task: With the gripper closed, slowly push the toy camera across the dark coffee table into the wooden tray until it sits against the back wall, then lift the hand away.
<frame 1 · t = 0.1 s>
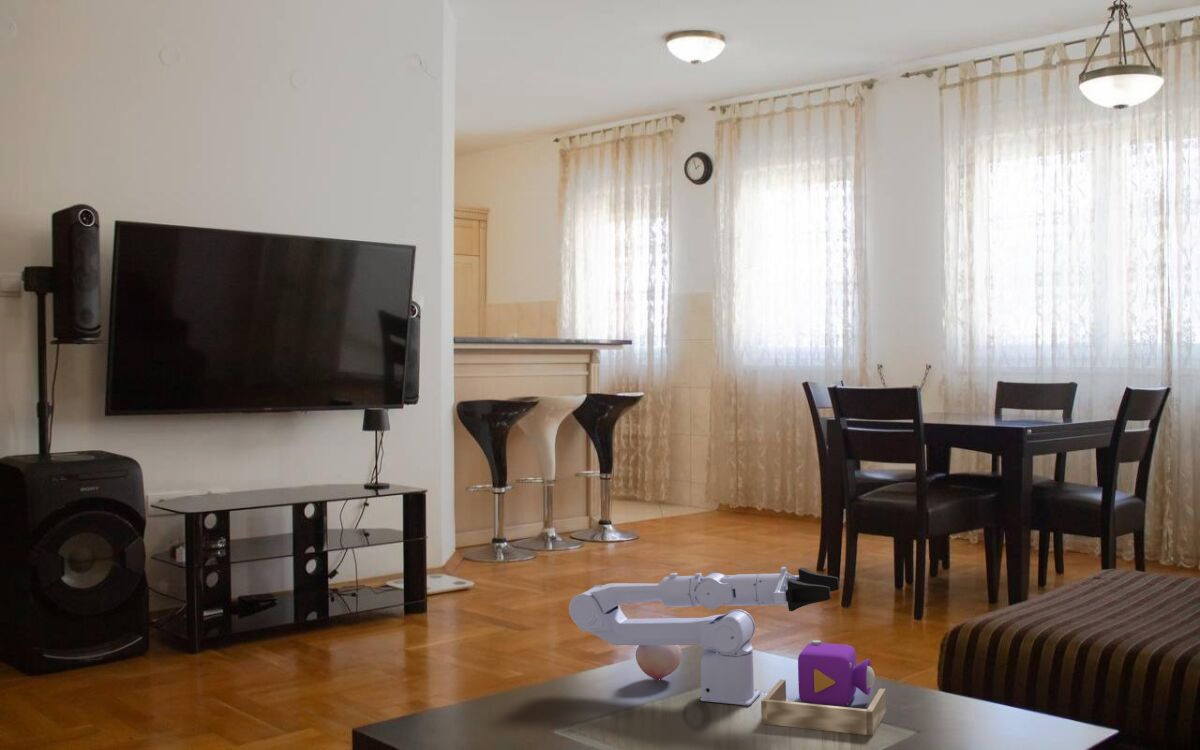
hand: (834, 588, 199), 22 cm above the table, tool horizontal, fingers open, 7 cm apart
decorative fruit: (660, 681, 220), on the table
toy camera: (837, 700, 205), on the table
wooden tray: (824, 717, 195), on the table
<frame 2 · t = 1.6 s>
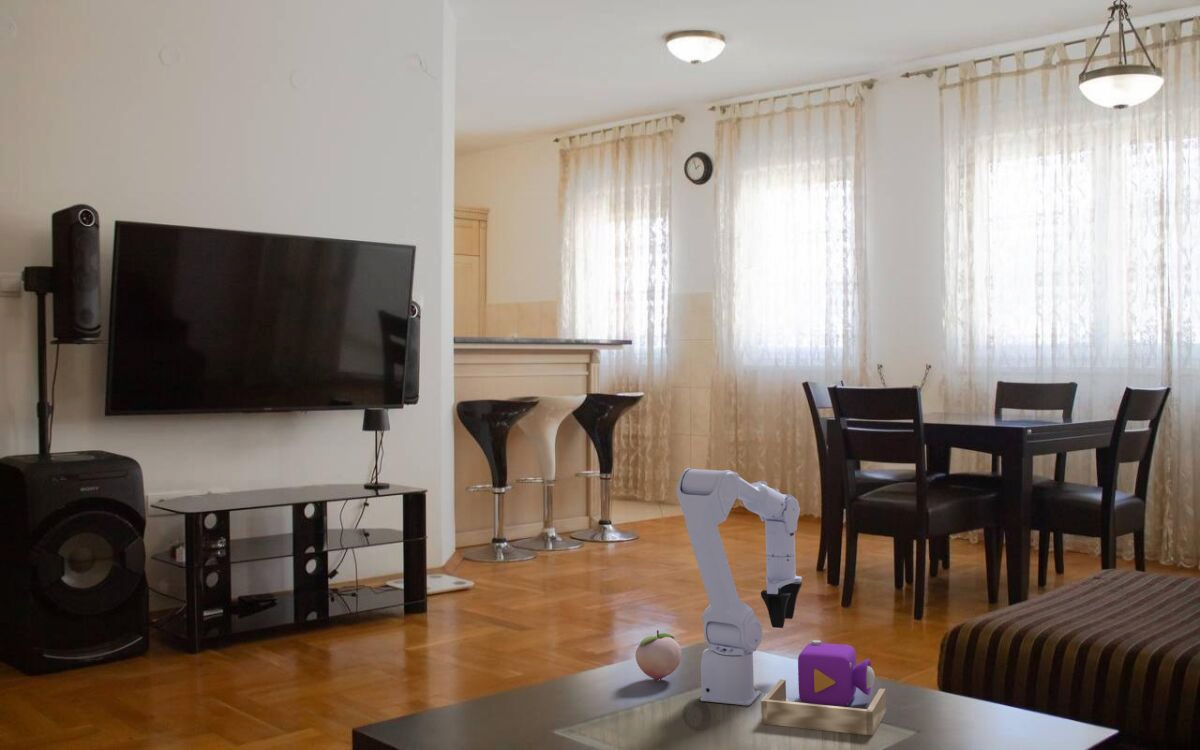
hand: (782, 622, 221), 10 cm above the table, tool pointing down, fingers open, 7 cm apart
nothing on the table moved.
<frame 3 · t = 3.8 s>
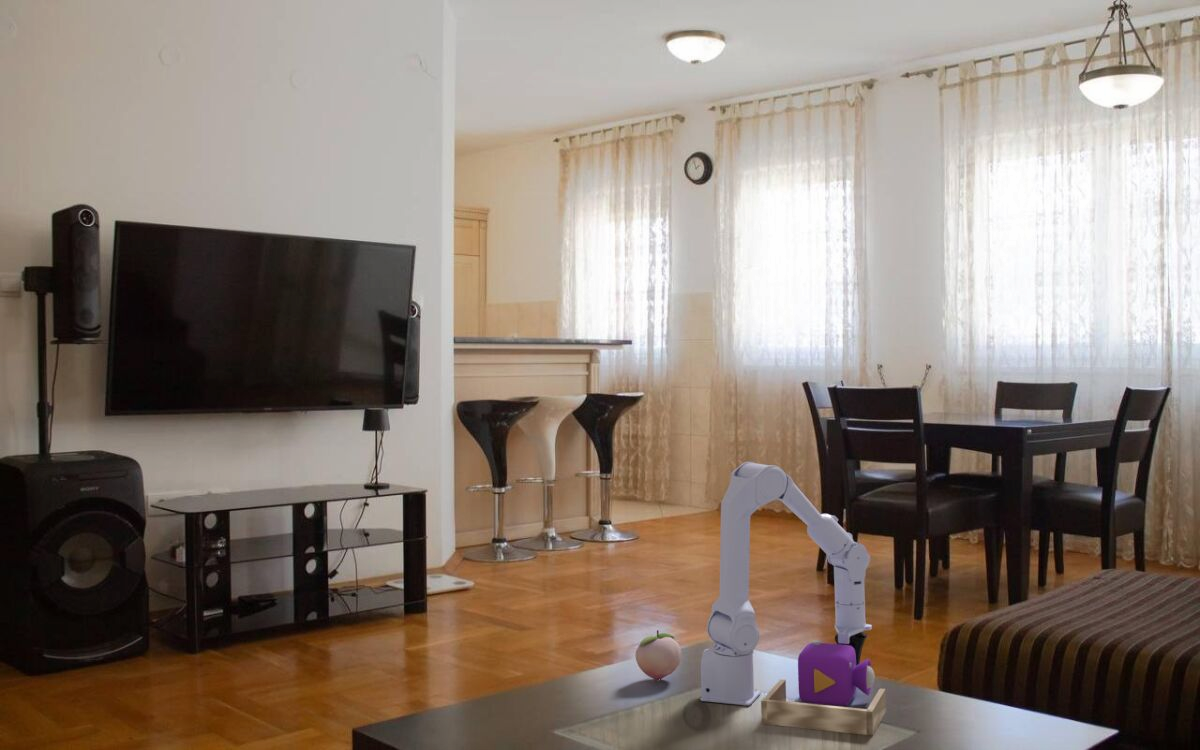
hand: (852, 671, 217), 1 cm above the table, tool pointing down, fingers closed
nothing on the table moved.
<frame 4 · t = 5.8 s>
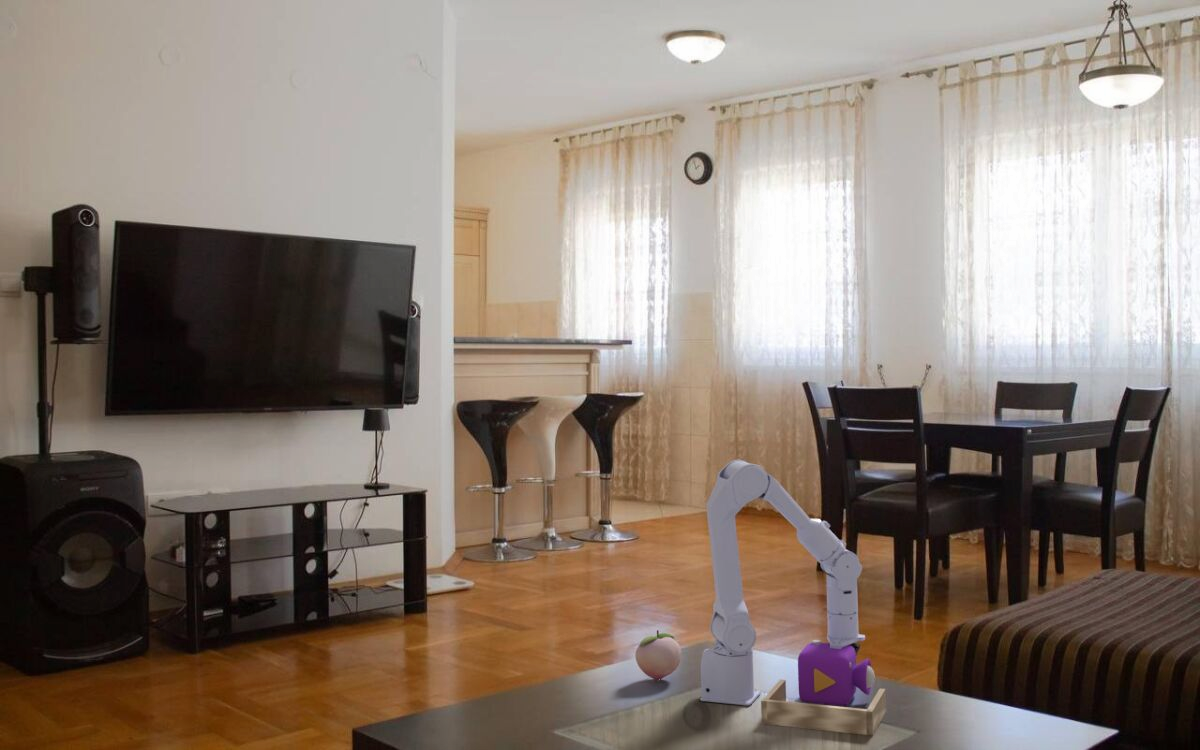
hand: (844, 683, 211), 1 cm above the table, tool pointing down, fingers closed
toy camera: (837, 700, 205), on the table, touching gripper
everything else where it was.
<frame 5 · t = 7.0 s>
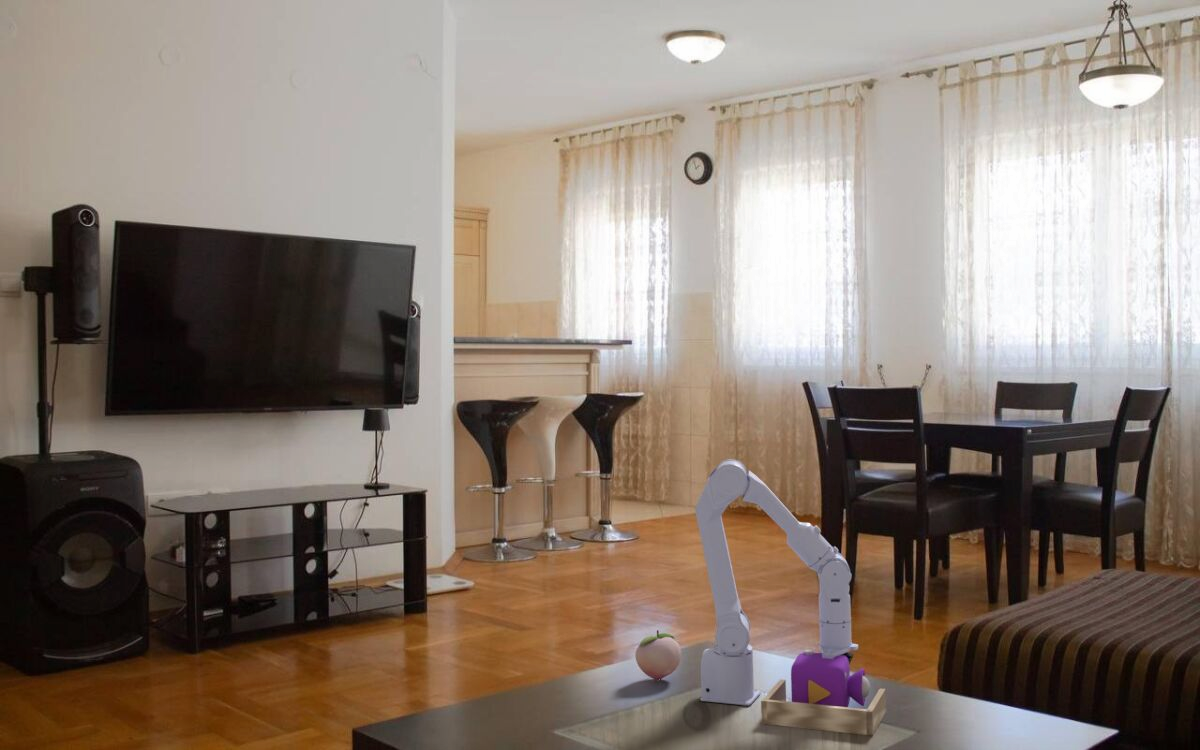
hand: (837, 693, 205), 1 cm above the table, tool pointing down, fingers closed
toy camera: (830, 712, 198), on the table, touching gripper
everything else where it was.
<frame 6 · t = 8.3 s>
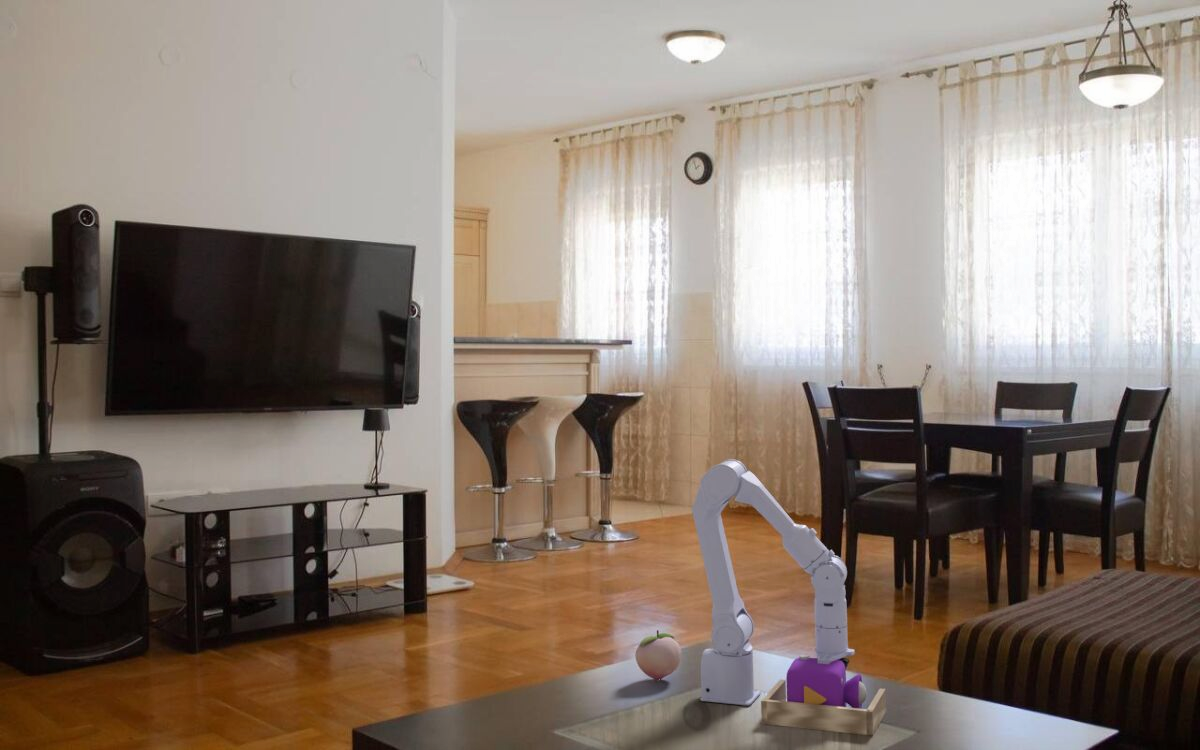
hand: (833, 699, 201), 1 cm above the table, tool pointing down, fingers closed
toy camera: (826, 718, 195), on the table, touching gripper, wooden tray
everything else where it was.
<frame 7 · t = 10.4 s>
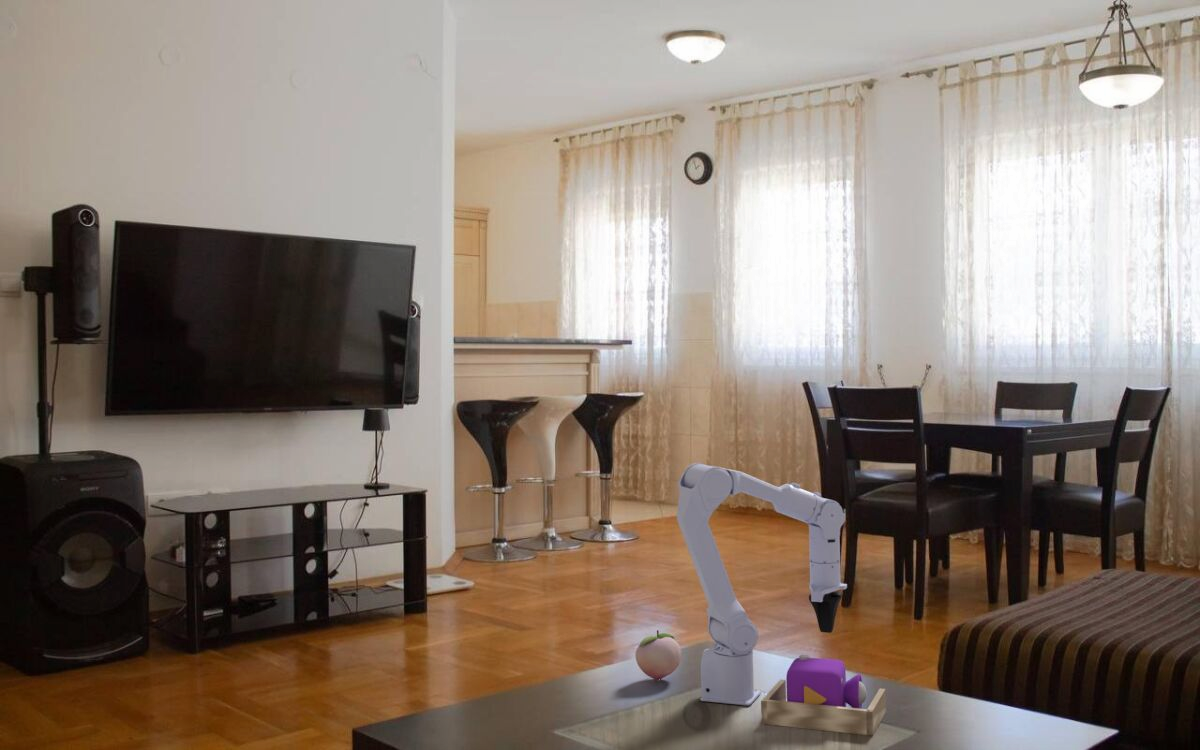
hand: (826, 631, 213), 10 cm above the table, tool pointing down, fingers closed
toy camera: (826, 718, 195), on the table, touching wooden tray
everything else where it was.
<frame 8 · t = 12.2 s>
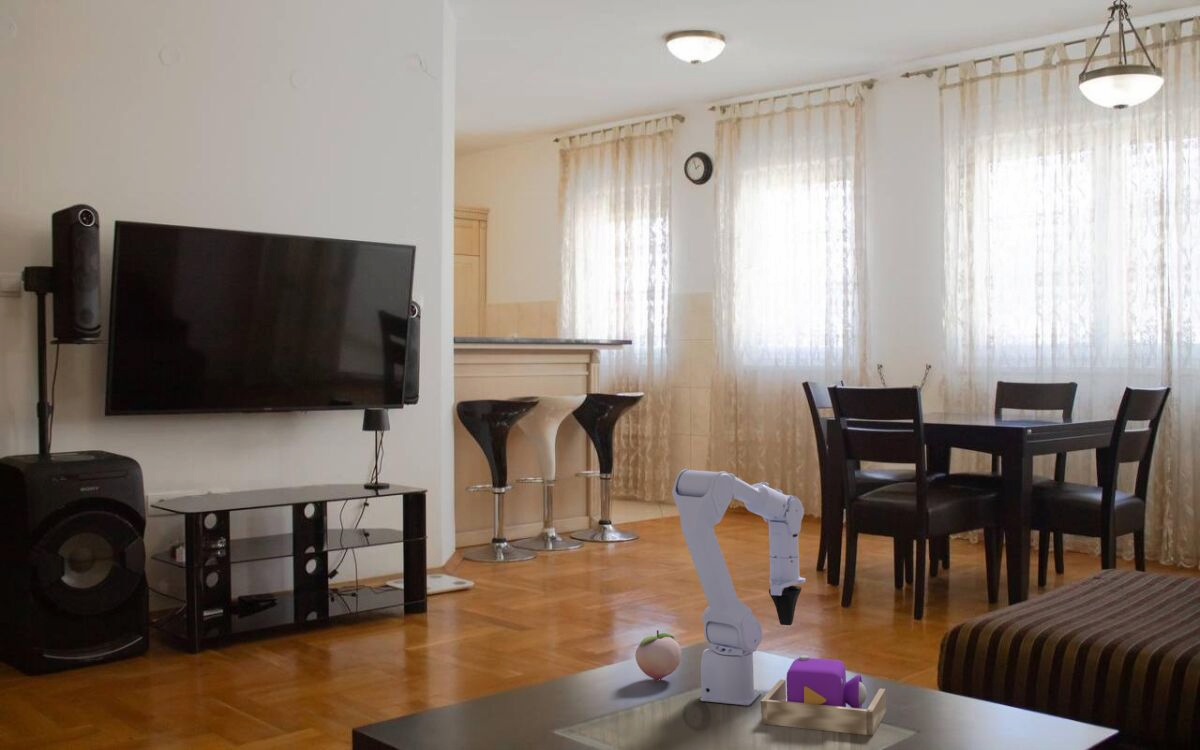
hand: (786, 624, 219), 10 cm above the table, tool pointing down, fingers closed
toy camera: (826, 719, 195), on the table
everything else where it was.
at the end: toy camera inside the target area (0.4 cm from its centre), on the table; toy camera tilted 0° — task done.
